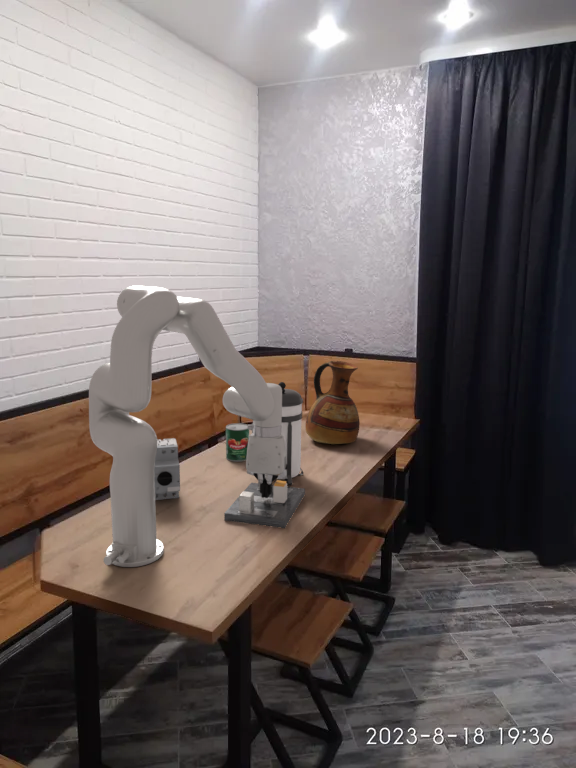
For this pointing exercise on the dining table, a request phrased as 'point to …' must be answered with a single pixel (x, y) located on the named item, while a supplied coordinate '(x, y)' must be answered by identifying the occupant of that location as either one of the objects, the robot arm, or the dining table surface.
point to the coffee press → (291, 431)
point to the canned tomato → (237, 442)
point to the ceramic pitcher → (333, 408)
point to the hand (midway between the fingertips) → (265, 496)
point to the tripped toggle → (280, 491)
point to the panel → (263, 507)
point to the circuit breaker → (167, 470)
